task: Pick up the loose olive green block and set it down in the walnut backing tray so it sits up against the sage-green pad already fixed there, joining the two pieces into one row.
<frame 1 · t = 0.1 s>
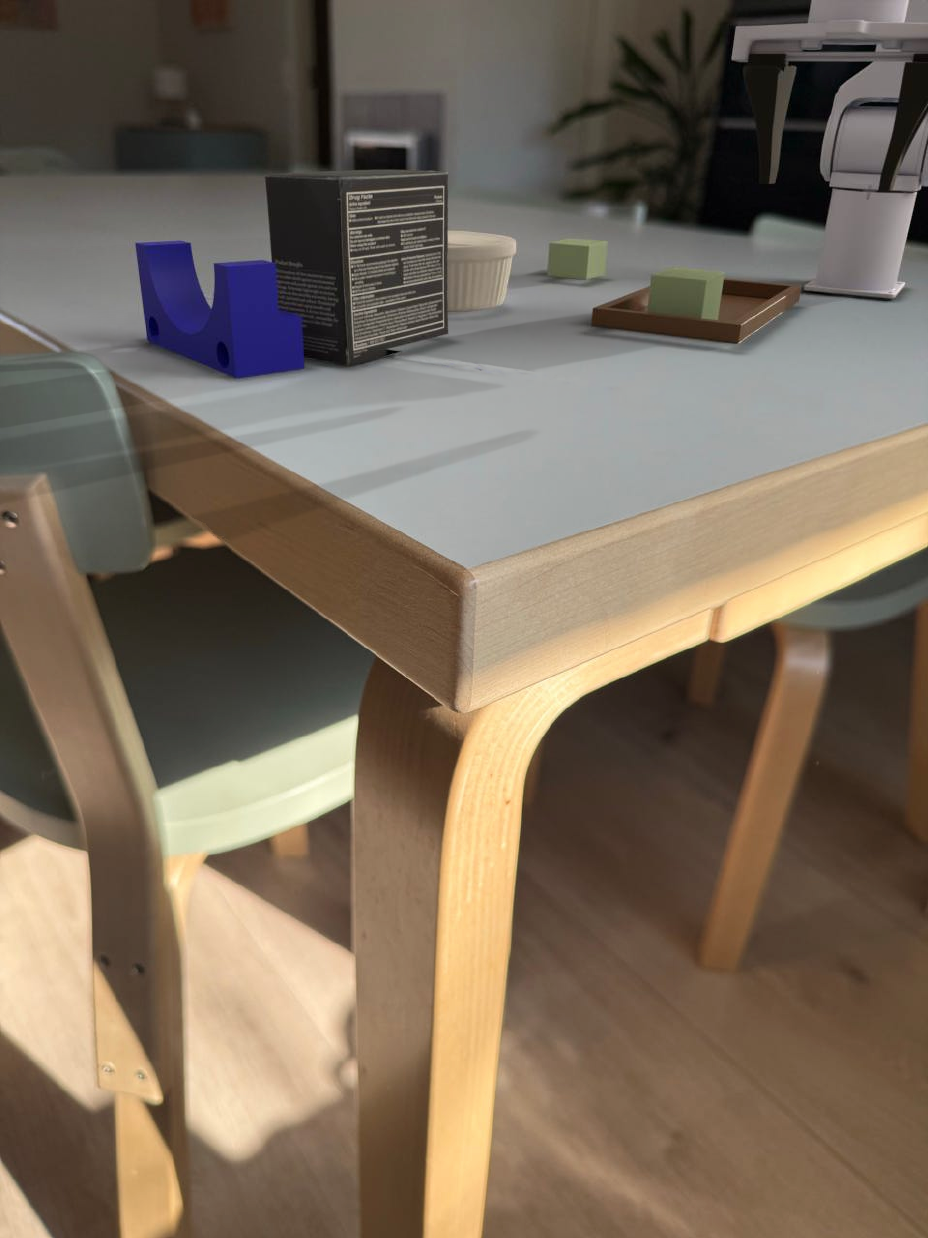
hand: (824, 186, 64), 10 cm above the table, tool pointing down, fingers open, 7 cm apart
pad a: (682, 323, 70), resting on backing tray
cable clip: (222, 357, 59), on the table
ramekin: (442, 310, 76), on the table
small box: (364, 349, 62), on the table
backing tray: (702, 319, 75), on the table
olive green block: (575, 280, 92), on the table
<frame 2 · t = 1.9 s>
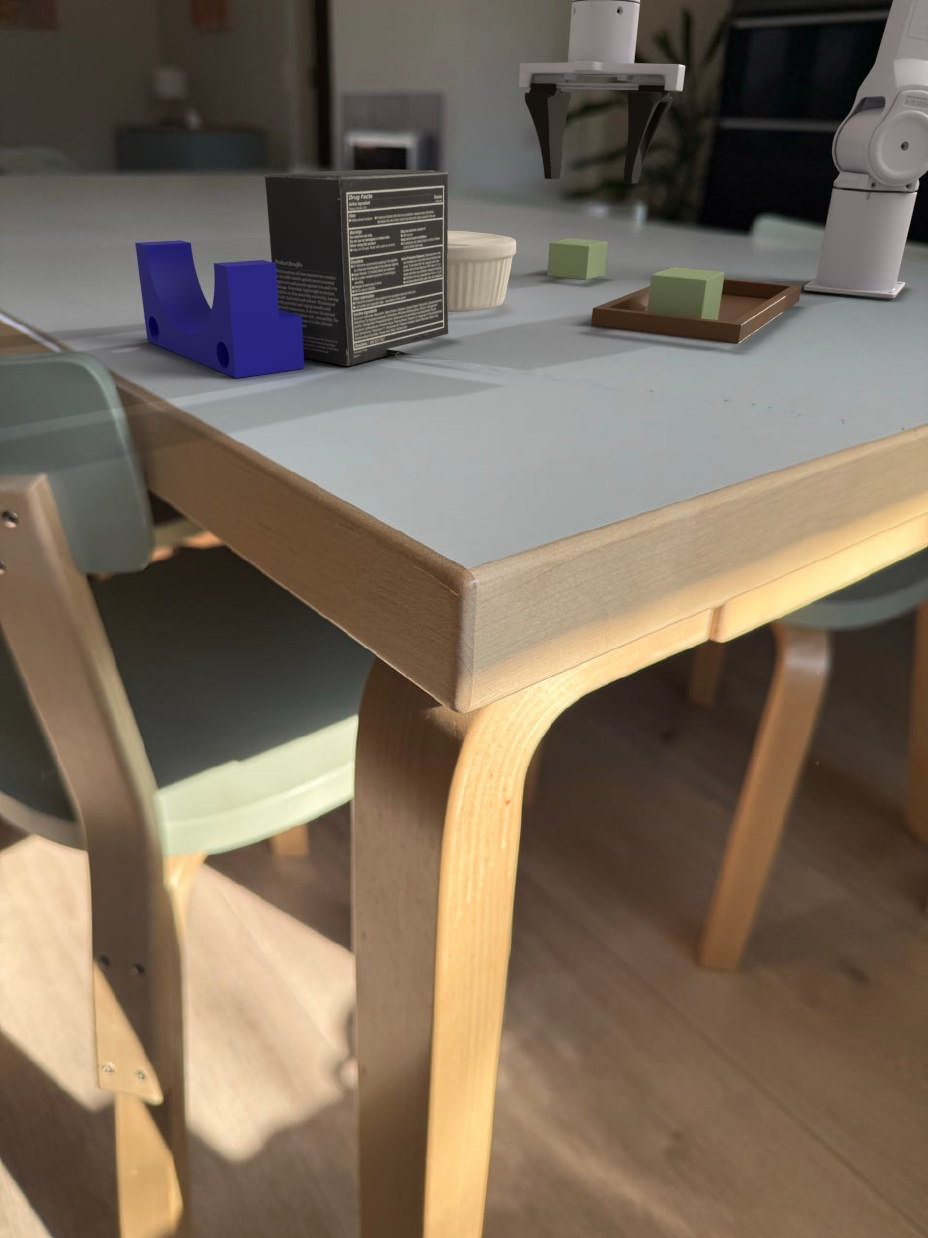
hand: (590, 180, 87), 9 cm above the table, tool pointing down, fingers open, 7 cm apart
nothing on the table moved.
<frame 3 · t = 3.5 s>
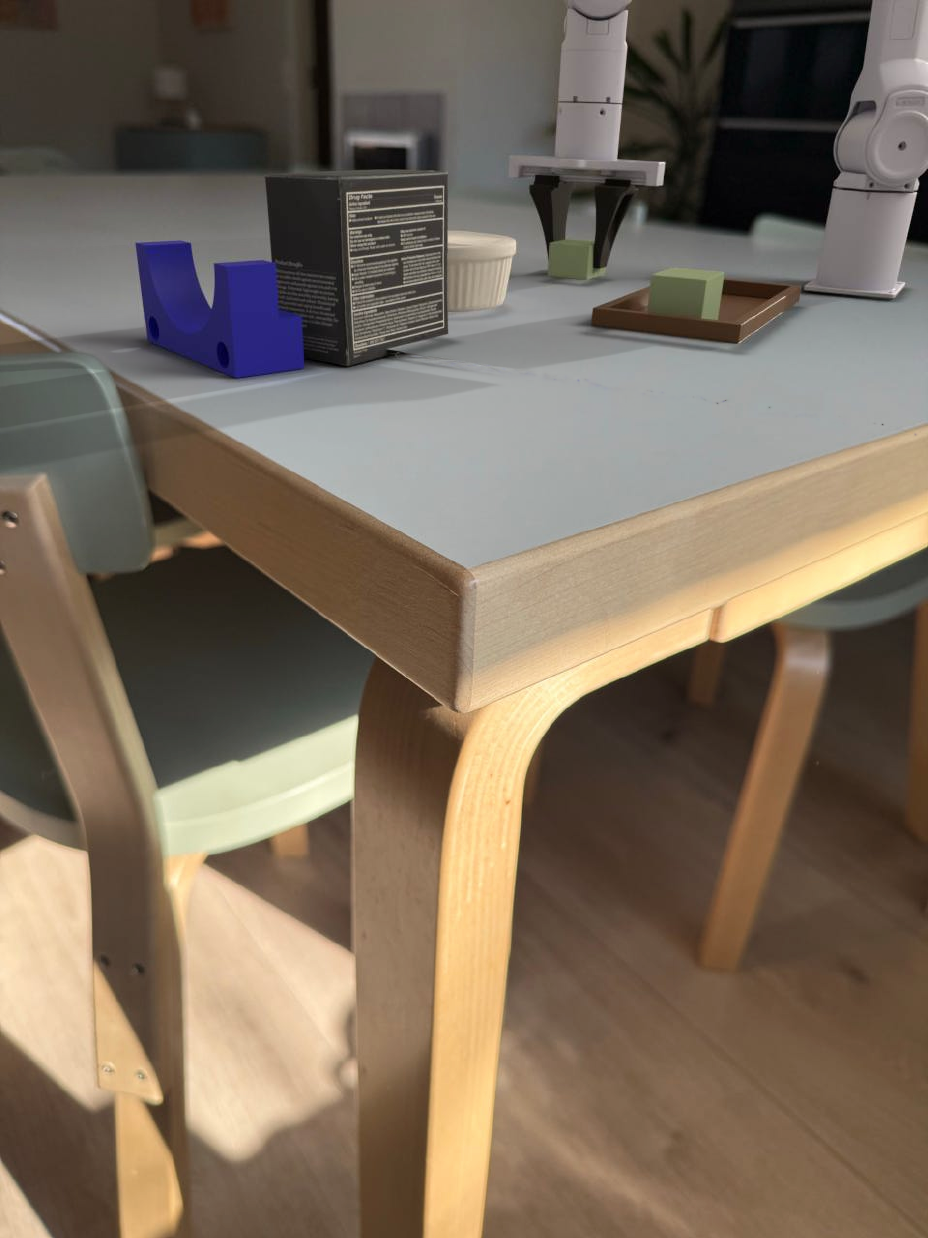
hand: (577, 265, 91), 1 cm above the table, tool pointing down, fingers closed on olive green block, 4 cm apart
olive green block: (576, 280, 92), on the table, touching gripper
everything else where it was.
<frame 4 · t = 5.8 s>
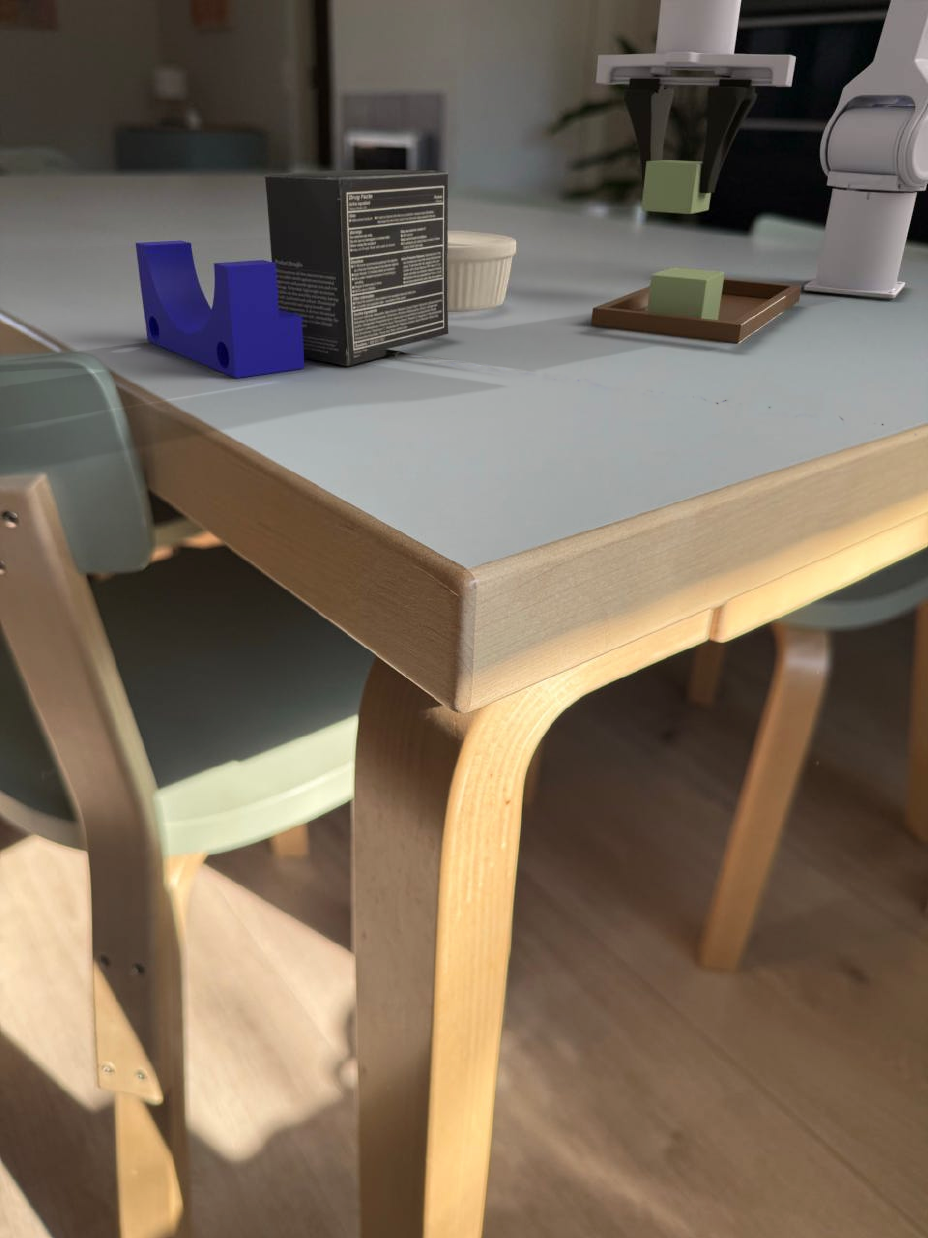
hand: (677, 190, 75), 9 cm above the table, tool pointing down, fingers closed on olive green block, 4 cm apart
olive green block: (675, 210, 76), point 8 cm above the table, touching gripper
everything else where it was.
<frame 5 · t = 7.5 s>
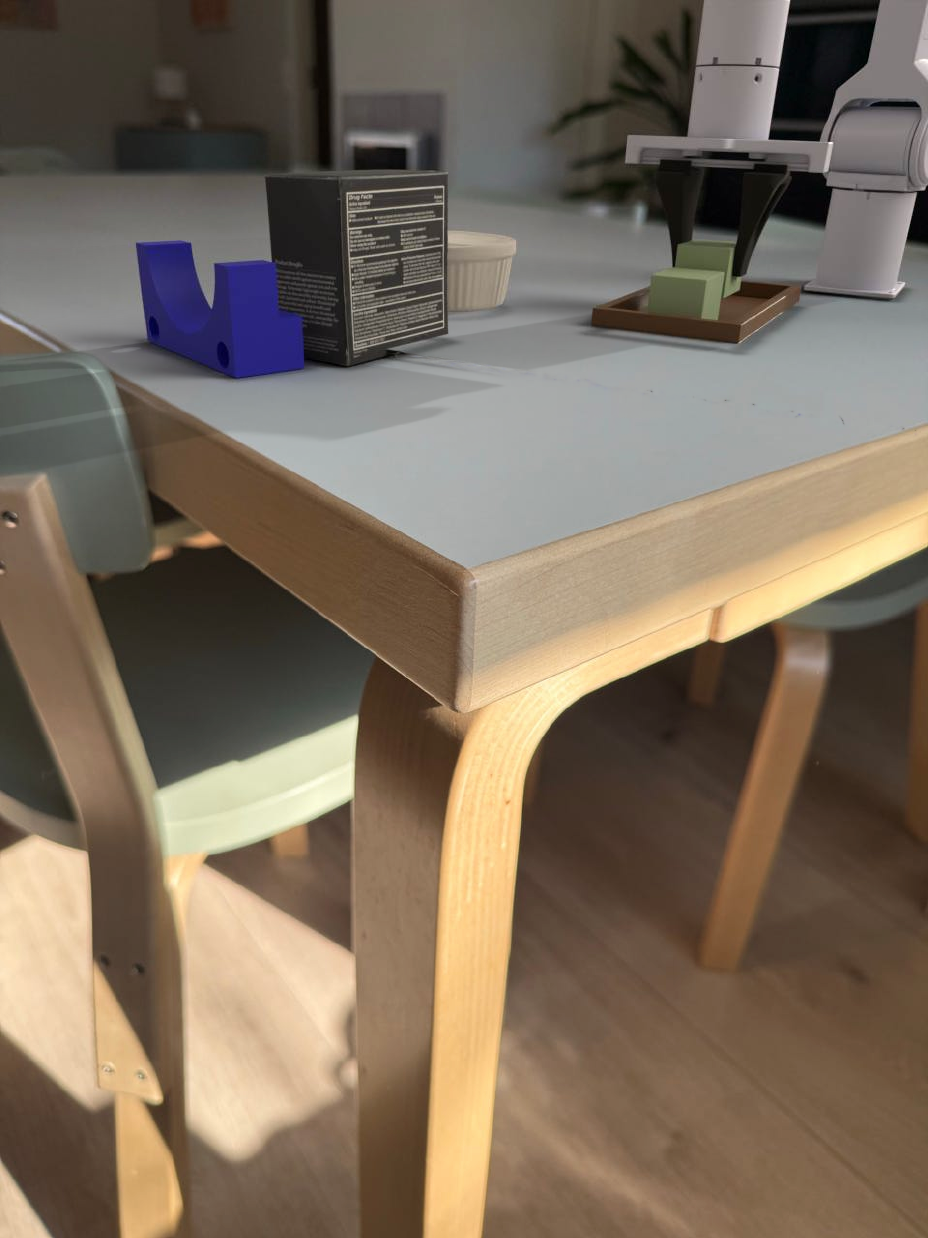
hand: (708, 272, 73), 4 cm above the table, tool pointing down, fingers closed on olive green block, 4 cm apart
olive green block: (706, 291, 74), point 2 cm above the table, touching gripper
everything else where it was.
when the fingers open (2 cm above the table, at t = 8.4 s): olive green block stays where it is, resting on backing tray.
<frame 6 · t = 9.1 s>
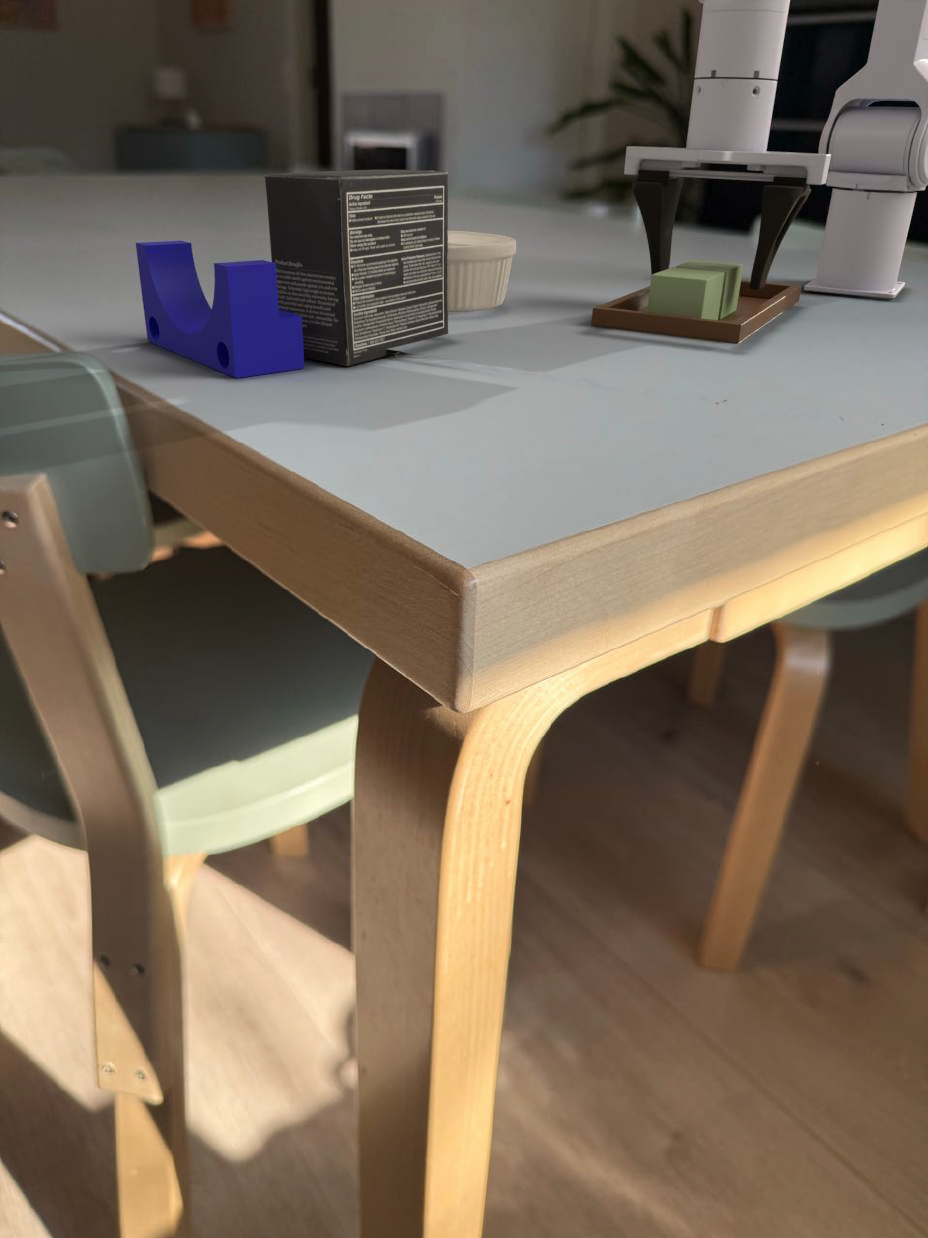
hand: (707, 282, 73), 3 cm above the table, tool pointing down, fingers open, 7 cm apart
olive green block: (703, 312, 74), point 1 cm above the table, touching backing tray
everything else where it was.
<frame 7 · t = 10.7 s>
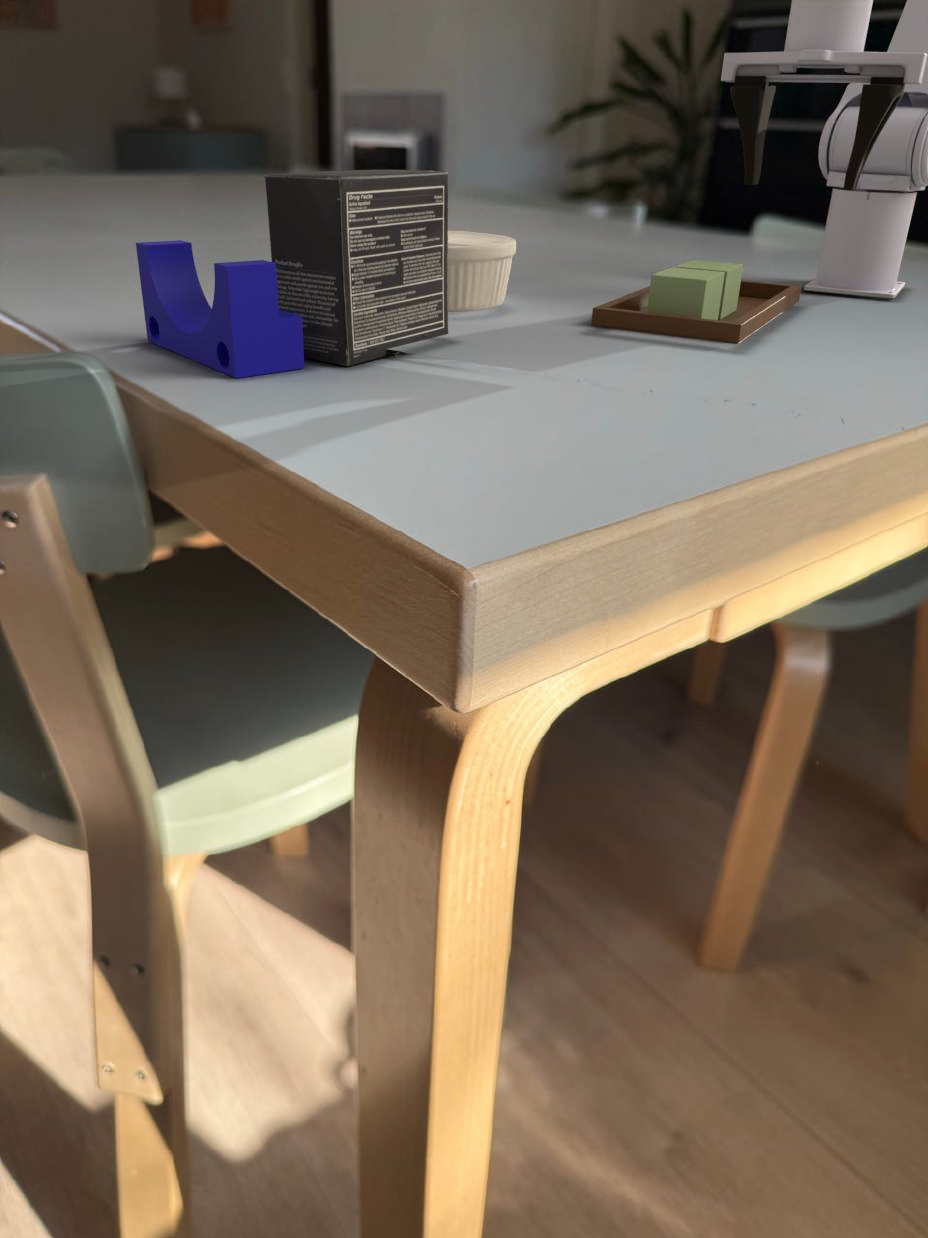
hand: (799, 186, 76), 9 cm above the table, tool pointing down, fingers open, 7 cm apart
nothing on the table moved.
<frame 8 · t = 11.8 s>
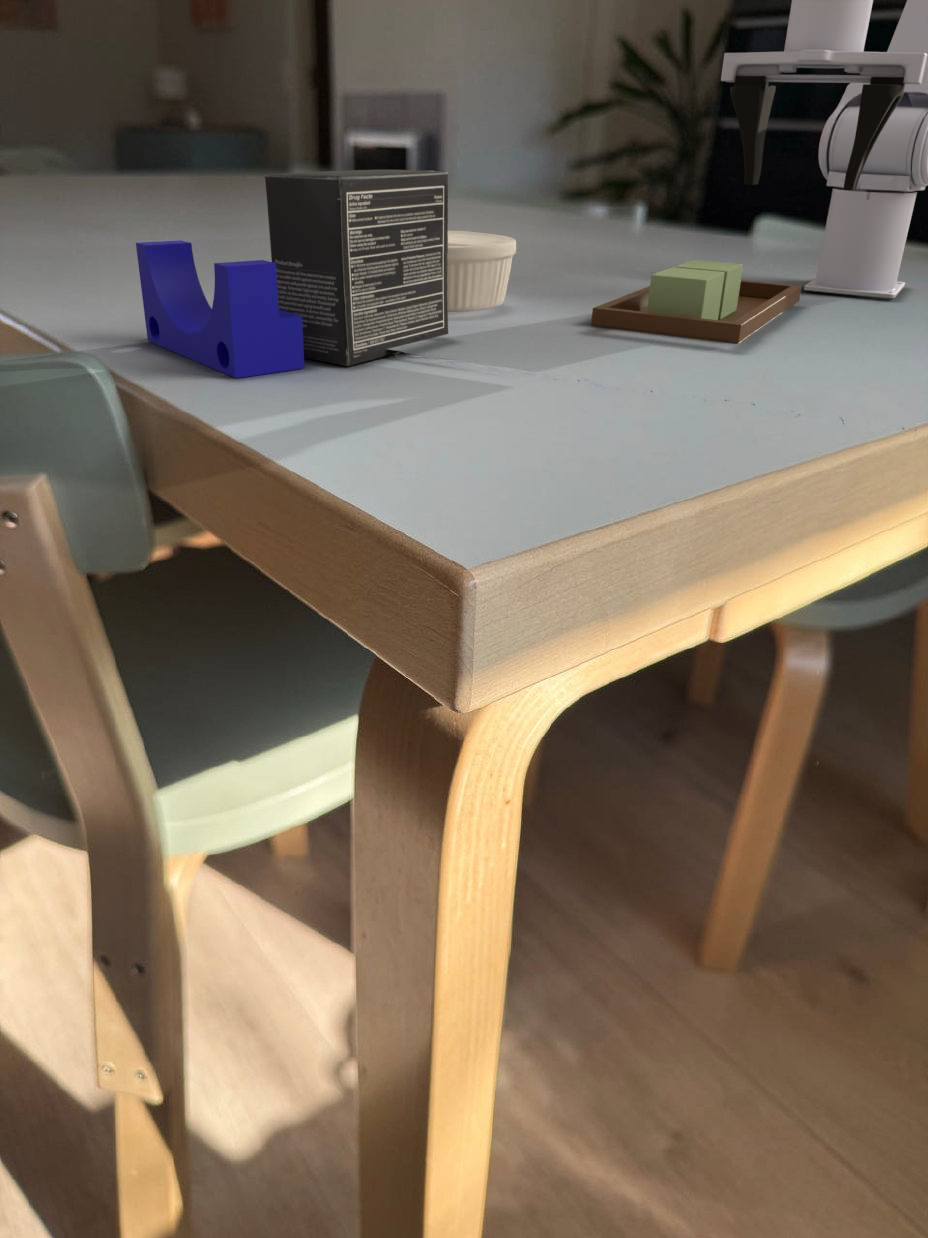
hand: (799, 186, 76), 9 cm above the table, tool pointing down, fingers open, 7 cm apart
nothing on the table moved.
at the end: olive green block 0.2 cm from the target spot on the table beside the pad a, resting on backing tray; olive green block tilted 0°; the gripper is holding nothing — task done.
